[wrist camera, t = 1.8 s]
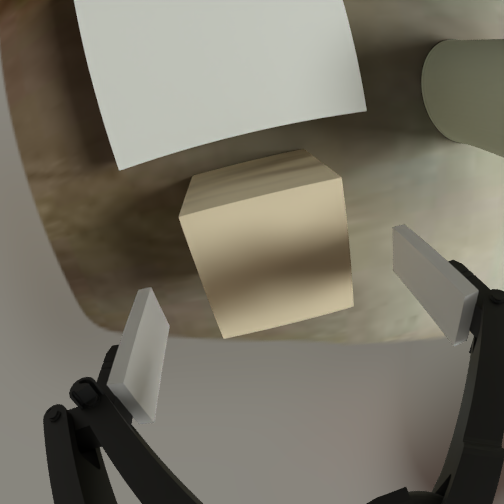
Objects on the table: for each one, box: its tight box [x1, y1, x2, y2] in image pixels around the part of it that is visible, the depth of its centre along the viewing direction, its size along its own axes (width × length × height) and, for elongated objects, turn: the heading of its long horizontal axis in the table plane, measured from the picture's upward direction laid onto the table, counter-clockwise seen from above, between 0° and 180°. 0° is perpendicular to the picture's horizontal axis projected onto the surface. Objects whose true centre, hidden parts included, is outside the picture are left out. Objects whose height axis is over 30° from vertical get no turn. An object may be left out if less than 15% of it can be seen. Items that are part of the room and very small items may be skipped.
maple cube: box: [179, 149, 353, 339], centre depth 20 cm, size 8×8×8 cm
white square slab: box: [74, 0, 367, 171], centre depth 15 cm, size 15×15×4 cm
